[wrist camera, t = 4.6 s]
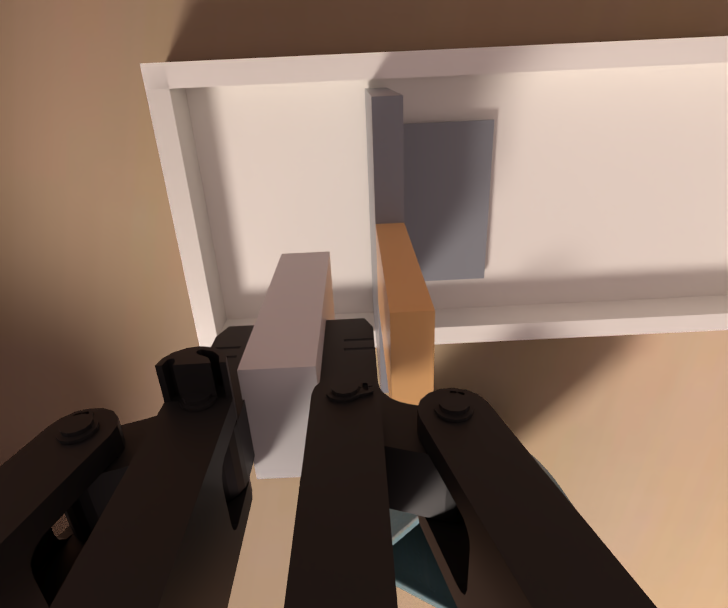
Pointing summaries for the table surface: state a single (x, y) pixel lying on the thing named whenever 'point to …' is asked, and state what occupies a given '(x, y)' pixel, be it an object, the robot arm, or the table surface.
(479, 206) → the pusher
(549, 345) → the table surface
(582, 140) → the white tray
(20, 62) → the table surface
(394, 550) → the flower pot
